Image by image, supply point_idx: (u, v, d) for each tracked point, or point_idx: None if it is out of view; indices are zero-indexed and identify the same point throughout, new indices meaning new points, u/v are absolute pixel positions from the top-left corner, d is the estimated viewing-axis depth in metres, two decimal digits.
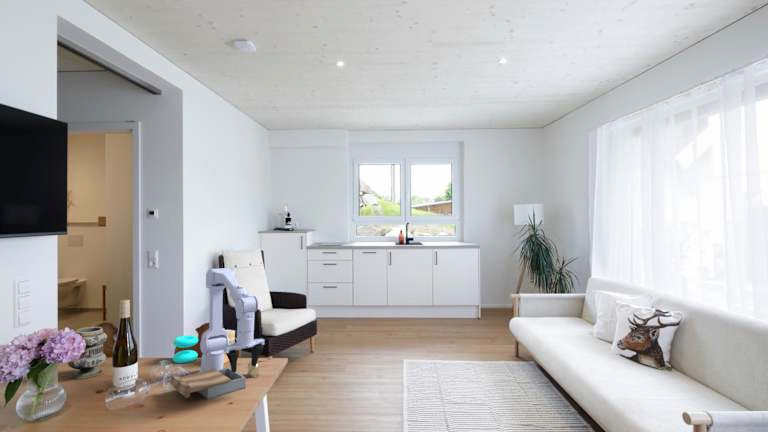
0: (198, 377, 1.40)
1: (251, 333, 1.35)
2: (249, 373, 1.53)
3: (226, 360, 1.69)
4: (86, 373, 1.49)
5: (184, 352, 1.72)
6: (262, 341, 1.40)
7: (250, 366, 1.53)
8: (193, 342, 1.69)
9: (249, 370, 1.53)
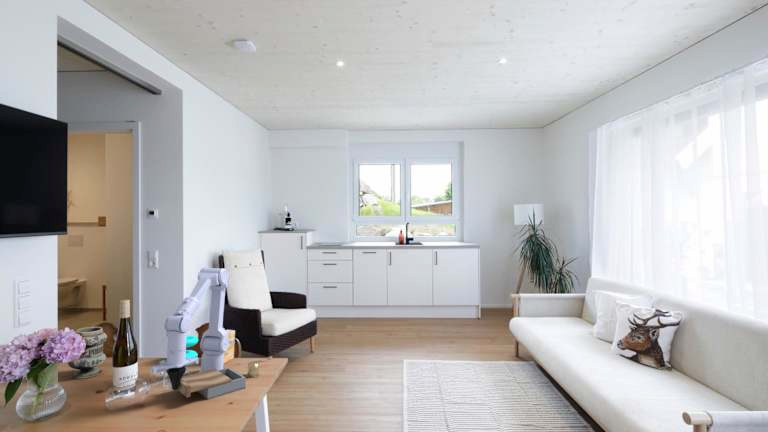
0: (199, 377, 1.40)
1: (182, 352, 1.31)
2: (249, 373, 1.53)
3: (226, 360, 1.69)
4: (86, 373, 1.49)
5: None
6: (196, 360, 1.36)
7: (250, 366, 1.53)
8: (193, 342, 1.69)
9: (249, 370, 1.53)
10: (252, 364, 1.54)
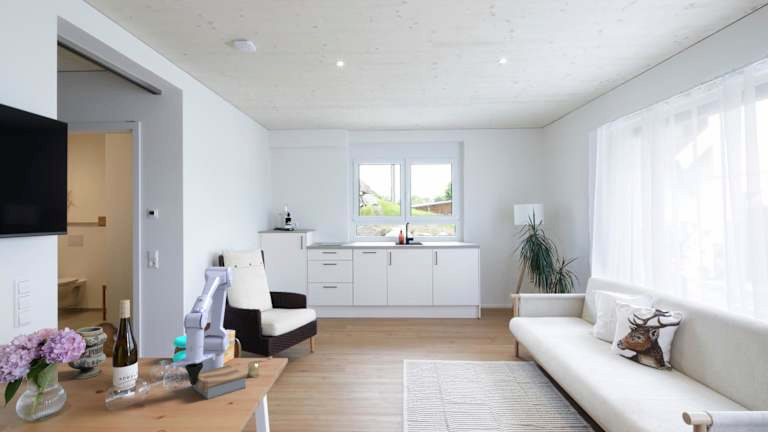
0: (215, 373, 1.45)
1: (200, 349, 1.35)
2: (249, 373, 1.53)
3: (226, 360, 1.69)
4: (86, 373, 1.49)
5: (184, 352, 1.72)
6: (213, 356, 1.40)
7: (250, 366, 1.53)
8: None
9: (249, 370, 1.53)
10: (252, 364, 1.54)
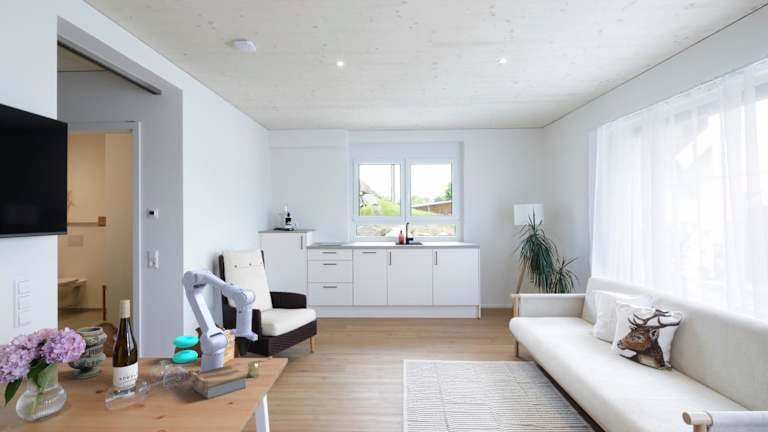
0: (215, 373, 1.45)
1: (239, 324, 1.49)
2: (249, 373, 1.53)
3: (226, 360, 1.69)
4: (86, 373, 1.49)
5: (184, 352, 1.72)
6: (252, 337, 1.47)
7: (250, 366, 1.53)
8: (193, 342, 1.69)
9: (249, 370, 1.53)
10: (252, 364, 1.54)
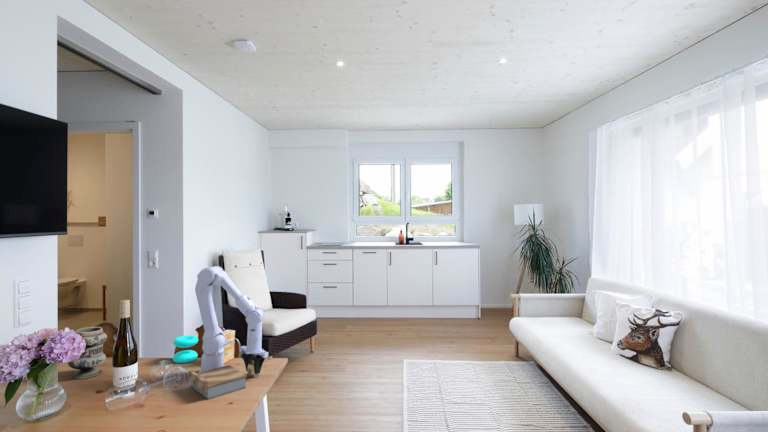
0: (215, 373, 1.45)
1: (250, 342, 1.53)
2: (249, 373, 1.53)
3: (226, 360, 1.69)
4: (86, 373, 1.49)
5: (184, 352, 1.72)
6: (263, 354, 1.51)
7: (250, 366, 1.53)
8: (193, 342, 1.69)
9: (249, 370, 1.53)
10: (252, 364, 1.54)
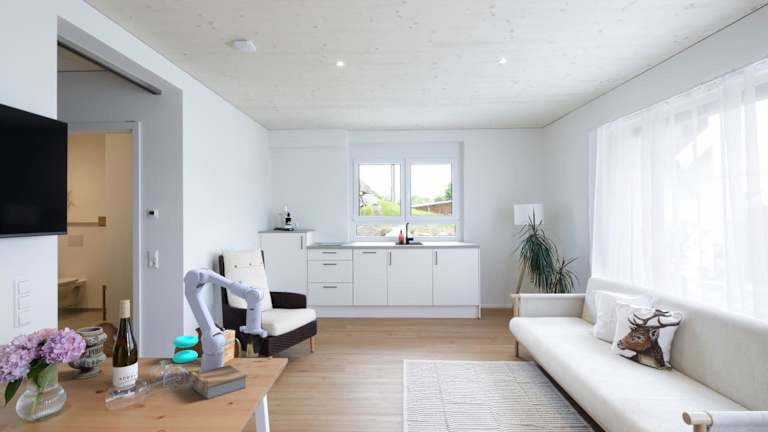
0: (215, 373, 1.45)
1: (249, 321, 1.53)
2: (248, 352, 1.53)
3: (226, 360, 1.69)
4: (86, 373, 1.49)
5: (184, 352, 1.72)
6: (261, 333, 1.51)
7: (249, 345, 1.53)
8: (193, 342, 1.69)
9: (248, 349, 1.53)
10: (251, 344, 1.54)
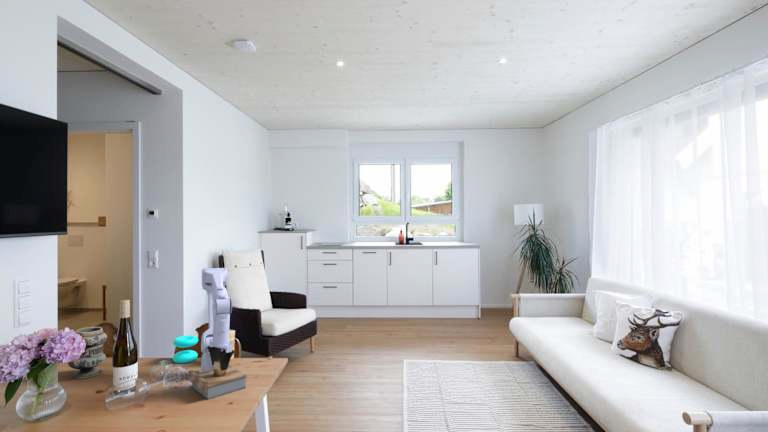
0: None
1: (215, 334, 1.41)
2: (214, 371, 1.41)
3: None
4: (86, 373, 1.49)
5: (184, 352, 1.72)
6: (225, 348, 1.38)
7: (215, 364, 1.41)
8: (193, 342, 1.69)
9: (214, 368, 1.41)
10: (218, 362, 1.42)
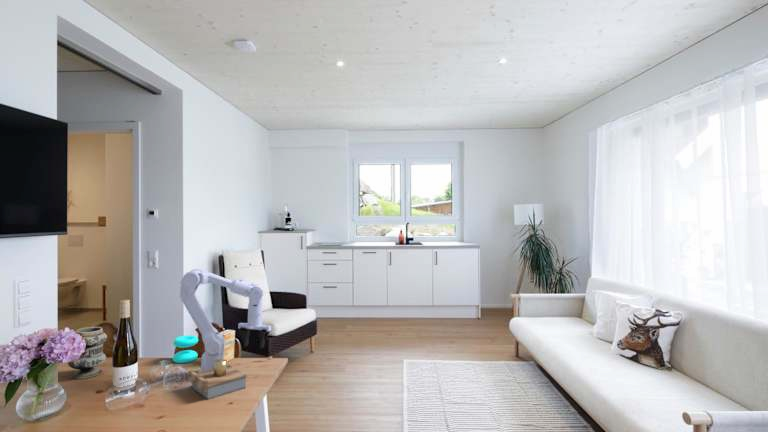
0: None
1: (253, 317, 1.57)
2: (214, 371, 1.42)
3: None
4: (86, 373, 1.49)
5: (184, 352, 1.72)
6: (266, 328, 1.57)
7: (215, 363, 1.42)
8: (193, 342, 1.69)
9: (214, 367, 1.42)
10: (218, 361, 1.42)
